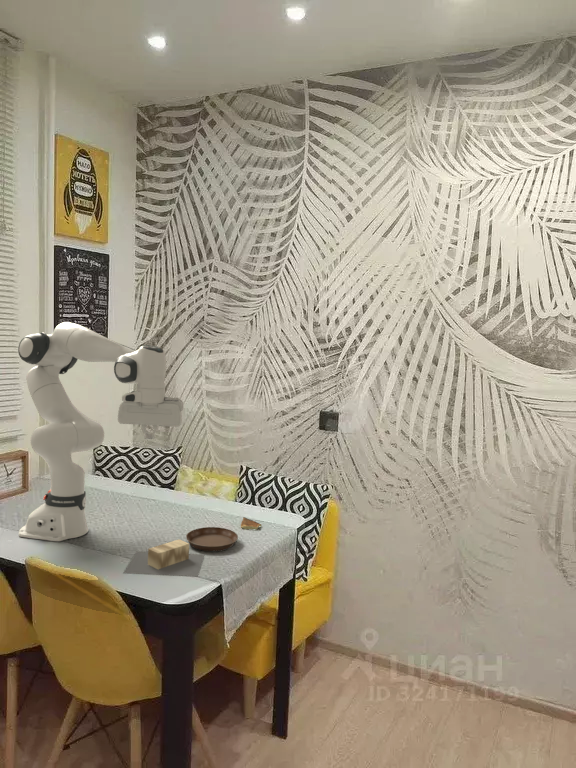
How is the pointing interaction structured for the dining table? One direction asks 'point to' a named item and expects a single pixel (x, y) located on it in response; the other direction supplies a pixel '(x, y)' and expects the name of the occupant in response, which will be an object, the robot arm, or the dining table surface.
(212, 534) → the plant saucer
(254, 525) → the pie slice
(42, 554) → the dining table surface
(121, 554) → the dining table surface
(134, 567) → the rubber mat
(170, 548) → the maple block
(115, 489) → the dining table surface
